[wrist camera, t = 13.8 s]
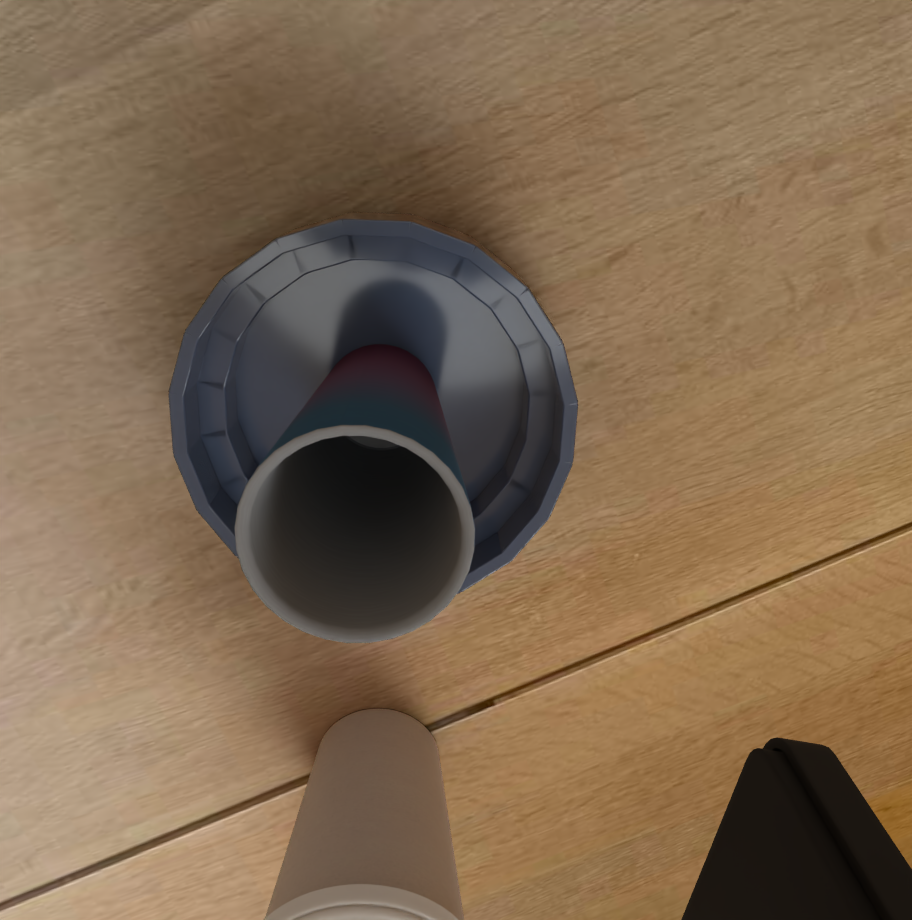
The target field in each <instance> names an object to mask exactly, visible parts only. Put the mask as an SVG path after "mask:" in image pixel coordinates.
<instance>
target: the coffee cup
mask: <svg viewBox="0 0 912 920" xmlns="http://www.w3.org/2000/svg"><path fill="white" fill-rule="evenodd" d="M264 920H464V915H463V909H462V903H461V896H460V890H459V883H458V877H457V870H456V864H455V857H454V851H453V844H452V838H451V831H450V824H449V818H448V811H447V804H446V798H445V791H444V784H443V778H442V771H441V764H440V758H439V752H438V747H437V744H436V742H435V740H434V738H433V736H432V735H431V733H430V732H429V731H428V729H427V728H426V727H425V726H424V725H423V724H421V723H420V722H419V721H417V720H416V719H414V718H413V717H411V716H409V715H407V714H404V713H402V712H399V711H395V710H390V709H366V710H361V711H358V712H354V713H352V714H349V715H347V716H345V717H343V718H342V719H340V720H339V721H337V722H336V723H335V724H334V725H333V726H332V727H331V728H330V729H329V730H328V731H327V732H326V734H325V735H324V737H323V738H322V740H321V743H320V745H319V748H318V751H317V755H316V758H315V761H314V764H313V767H312V771H311V774H310V777H309V780H308V783H307V787H306V790H305V793H304V796H303V800H302V803H301V806H300V809H299V812H298V816H297V819H296V822H295V825H294V828H293V832H292V835H291V838H290V841H289V844H288V847H287V851H286V854H285V857H284V860H283V863H282V867H281V870H280V873H279V876H278V879H277V882H276V885H275V889H274V892H273V895H272V898H271V901H270V904H269V907H268V910H267V913H266V917H265V919H264Z"/></svg>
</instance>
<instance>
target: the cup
mask: <svg viewBox="0 0 912 920" xmlns="http://www.w3.org/2000/svg"><path fill="white" fill-rule="evenodd" d="M234 529H235V542H236V551H237V554H238V558H239V561H240V564H241V568H242V571H243V573H244V574H245V576H246V578H247V580H248V582H249V584H250V585H251V587H252V589H253V591H254V592H255V593H256V594H257V595H258V597H259V598H260V599H261V600H262V601H263V603H264V604H265V605H266V606H267V607H268V608H269V609H270V610H271V611H273V612H274V613H275V614H276V615H277V616H279V617H280V618H281V619H282V620H284V621H285V622H287V623H289V624H290V625H292V626H294V627H296V628H298V629H299V630H301V631H303V632H305V633H308V634H311V635H314V636H317V637H320V638H323V639H326V640H332V641H338V642H344V643H371V642H377V641H383V640H388V639H393V638H395V637H398V636H401V635H404V634H406V633H409V632H412V631H414V630H415V629H417V628H419V627H420V626H422V625H424V624H425V623H427V622H429V621H431V620H432V619H433V618H434V617H435V616H436V615H438V614H439V613H440V612H441V611H442V610H443V609H444V608H445V607H447V606H448V604H449V603H450V602H451V600H452V599H453V598H454V597H455V595H456V594H457V593H458V591H459V590H460V589H461V586H462V584H463V582H464V580H465V578H466V576H467V574H468V572H469V570H470V566H471V562H472V558H473V554H474V550H475V525H474V519H473V514H472V509H471V505H470V501H469V498H468V495H467V491H466V488H465V485H464V481H463V478H462V475H461V471H460V468H459V465H458V461H457V458H456V454H455V451H454V448H453V444H452V441H451V438H450V434H449V431H448V428H447V424H446V421H445V418H444V414H443V411H442V408H441V404H440V401H439V398H438V394H437V391H436V387H435V384H434V382H433V379H432V377H431V374H430V373H429V371H428V370H427V368H426V367H425V365H424V364H423V363H422V362H421V361H420V360H419V359H418V358H417V357H415V356H414V355H412V354H411V353H409V352H408V351H406V350H404V349H401V348H399V347H396V346H391V345H386V344H373V345H368V346H363V347H361V348H358V349H356V350H353V351H352V352H350V353H349V354H347V355H346V356H344V357H343V358H342V359H341V360H340V361H339V362H338V363H337V364H336V365H335V367H334V368H333V369H332V370H331V372H330V373H329V374H328V376H327V377H326V378H325V380H324V381H323V382H322V383H321V385H320V386H319V387H318V389H317V390H316V391H315V393H314V394H313V395H312V397H311V398H310V399H309V400H308V402H307V403H306V404H305V406H304V407H303V408H302V410H301V411H300V412H299V413H298V415H297V416H296V417H295V419H294V420H293V421H292V423H291V424H290V425H289V427H288V428H287V429H286V430H285V432H284V433H283V434H282V436H281V437H280V438H279V440H278V441H277V442H276V443H275V445H274V446H273V447H272V449H271V450H270V451H269V453H268V454H267V455H266V456H265V458H264V459H263V460H262V462H261V463H260V464H259V466H258V467H257V468H256V470H255V472H254V473H253V475H252V476H251V478H250V479H249V481H248V482H247V484H246V485H245V488H244V490H243V493H242V496H241V498H240V501H239V504H238V506H237V513H236V520H235V527H234Z"/></svg>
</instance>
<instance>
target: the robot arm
mask: <svg viewBox="0 0 912 920" xmlns="http://www.w3.org/2000/svg"><path fill="white" fill-rule="evenodd" d="M682 920H912V869H911V868H910V866H909V865H908V863H907V862H906V860H905V859H904V857H903V856H902V854H901V853H900V851H899V850H898V848H897V847H896V845H895V844H894V842H893V841H892V839H891V838H890V836H889V835H888V833H887V832H886V830H885V829H884V827H883V826H882V824H881V823H880V821H879V820H878V818H877V817H876V815H875V814H874V812H873V811H872V809H871V808H870V806H869V805H868V803H867V802H866V800H865V799H864V797H863V796H862V794H861V793H860V791H859V790H858V788H857V787H856V785H855V784H854V782H853V781H852V779H851V778H850V776H849V775H848V773H847V772H846V770H845V769H844V767H843V766H842V764H841V763H840V761H839V760H838V758H837V757H836V755H835V754H834V753H833V752H832V751H831V749H830V748H829V747H826V746H824V745H820V744H814V743H807V742H801V741H795V740H789V739H783V738H773V739H770V740H769V741H768V742H767V743H766V744H765V746H764V748H763V749H760V748H757V749H754V750H753V751H752V752H751V753H750V754H749V756H748V758H747V760H746V762H745V765H744V767H743V770H742V772H741V774H740V777H739V779H738V782H737V784H736V787H735V789H734V792H733V794H732V797H731V799H730V802H729V804H728V806H727V809H726V811H725V814H724V816H723V819H722V821H721V824H720V826H719V829H718V831H717V834H716V836H715V838H714V841H713V843H712V846H711V848H710V851H709V853H708V856H707V858H706V861H705V863H704V866H703V868H702V871H701V873H700V875H699V878H698V880H697V883H696V885H695V888H694V890H693V893H692V895H691V898H690V900H689V903H688V905H687V907H686V910H685V912H684V915H683V917H682Z"/></svg>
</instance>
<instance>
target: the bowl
mask: <svg viewBox="0 0 912 920" xmlns="http://www.w3.org/2000/svg"><path fill="white" fill-rule="evenodd" d="M373 344H386V345H391V346H396V347H399V348H401V349H404V350H406V351H408V352H409V353H411V354H412V355H414V356H415V357H417V358H418V359H419V360H420V361H421V362H422V363H423V364H424V365H425V367H426V368H427V370H428V371H429V373H430V374H431V377H432V379H433V382H434V384H435V387H436V391H437V394H438V398H439V401H440V404H441V408H442V411H443V414H444V418H445V421H446V424H447V428H448V431H449V434H450V438H451V441H452V444H453V448H454V451H455V454H456V458H457V461H458V465H459V468H460V471H461V475H462V478H463V481H464V485H465V488H466V491H467V495H468V498H469V501H470V505H471V509H472V514H473V519H474V525H475V550H474V554H473V558H472V562H471V566H470V570H469V572H468V574H467V576H466V578H465V580H464V582H463V584H462V586H461V589H460V590H459V591H458V593H460V592H463V591H464V590H466V589H468V588H469V587H471V586H472V585H474V584H476V583H477V582H479V581H481V580H482V579H484V578H485V577H487V576H489V575H490V574H492V573H494V572H495V571H497V570H498V569H500V568H502V567H503V566H505V565H506V564H508V563H510V561H512V560H513V559H514V558H515V557H516V556H517V554H518V553H519V552H520V551H521V550H522V549H523V548H524V546H525V545H526V544H527V543H528V542H529V541H530V540H531V538H532V537H533V536H534V535H535V534H536V533H537V532H538V530H539V529H540V528H541V527H542V526H543V525H544V524H545V523H546V521H547V520H548V519H549V517H550V516H551V513H552V511H553V509H554V506H555V504H556V502H557V499H558V497H559V495H560V492H561V490H562V488H563V485H564V483H565V481H566V479H567V476H568V474H569V472H570V469H571V467H572V463H573V458H574V446H575V435H576V423H577V412H578V400H577V396H576V392H575V388H574V384H573V380H572V376H571V371H570V367H569V363H568V359H567V355H566V351H565V347H564V344H563V342H562V339H561V338H560V336H559V335H558V333H557V332H556V330H555V328H554V327H553V325H552V324H551V322H550V321H549V319H548V317H547V316H546V314H545V313H544V311H543V310H542V308H541V307H540V305H539V303H538V302H537V300H536V299H535V297H534V296H533V294H532V292H531V291H530V289H529V288H528V287H527V286H526V284H525V283H524V282H523V281H522V279H521V278H520V277H519V276H518V275H517V274H516V272H515V271H513V270H512V269H511V268H510V267H508V266H507V265H506V264H505V263H503V262H502V261H501V260H500V259H499V258H497V257H496V256H495V255H494V254H492V253H491V252H490V251H489V250H487V249H486V248H485V247H484V246H482V245H481V244H480V243H479V242H478V241H476V240H475V239H474V238H473V237H470V236H469V235H467V234H465V233H462V232H459V231H457V230H454V229H451V228H449V227H446V226H443V225H441V224H438V223H435V222H433V221H430V220H427V219H425V218H422V217H419V216H417V215H412V214H401V213H373V212H348V213H345V214H342V215H338V216H335V217H332V218H328V219H325V220H322V221H319V222H315V223H312V224H309V225H305V226H302V227H299V228H295V229H293V230H291V231H289V232H287V233H285V234H283V235H281V236H280V237H278V238H276V239H274V240H273V241H271V242H270V243H269V244H267V245H266V246H264V247H263V248H262V249H260V250H259V251H258V252H256V253H255V254H253V255H252V256H251V257H249V258H248V259H246V260H245V261H244V262H242V263H241V264H240V265H238V266H237V267H235V268H234V269H233V270H231V271H230V272H229V273H227V274H226V275H224V276H223V277H222V278H221V279H220V280H219V282H218V283H217V285H216V286H215V288H214V289H213V291H212V292H211V293H210V295H209V296H208V298H207V299H206V301H205V302H204V304H203V305H202V307H201V308H200V310H199V311H198V312H197V314H196V315H195V317H194V318H193V320H192V321H191V323H190V324H189V326H188V327H187V328H186V330H185V332H184V335H183V339H182V343H181V346H180V350H179V354H178V358H177V362H176V365H175V369H174V373H173V377H172V380H171V384H170V388H169V394H168V395H169V407H170V420H171V433H172V446H173V454H174V458H175V460H176V463H177V465H178V467H179V470H180V472H181V475H182V477H183V479H184V482H185V484H186V486H187V489H188V491H189V493H190V496H191V498H192V500H193V503H194V505H195V508H196V510H197V511H198V513H199V514H200V515H201V516H202V517H203V518H204V520H205V521H206V522H207V523H208V524H209V525H210V527H211V528H212V529H213V530H214V531H215V533H216V534H217V535H218V536H219V537H220V538H221V540H222V541H223V542H224V543H225V544H226V545H227V547H228V548H229V549H230V550H231V551H232V552H233V554H234V555H235V556H237V558H238V554H237V551H236V542H235V529H234V527H235V520H236V513H237V506H238V504H239V501H240V498H241V496H242V493H243V490H244V488H245V485H246V484H247V482H248V481H249V479H250V478H251V476H252V475H253V473H254V472H255V470H256V468H257V467H258V466H259V464H260V463H261V462H262V460H263V459H264V458H265V456H266V455H267V454H268V453H269V451H270V450H271V449H272V447H273V446H274V445H275V443H276V442H277V441H278V440H279V438H280V437H281V436H282V434H283V433H284V432H285V430H286V429H287V428H288V427H289V425H290V424H291V423H292V421H293V420H294V419H295V417H296V416H297V415H298V413H299V412H300V411H301V410H302V408H303V407H304V406H305V404H306V403H307V402H308V400H309V399H310V398H311V397H312V395H313V394H314V393H315V391H316V390H317V389H318V387H319V386H320V385H321V383H322V382H323V381H324V380H325V378H326V377H327V376H328V374H329V373H330V372H331V370H332V369H333V368H334V367H335V365H336V364H337V363H338V362H339V361H340V360H341V359H342V358H343V357H344V356H346V355H347V354H349V353H350V352H352V351H353V350H356V349H358V348H361V347H363V346H368V345H373ZM458 593H457V594H458Z"/></svg>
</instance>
